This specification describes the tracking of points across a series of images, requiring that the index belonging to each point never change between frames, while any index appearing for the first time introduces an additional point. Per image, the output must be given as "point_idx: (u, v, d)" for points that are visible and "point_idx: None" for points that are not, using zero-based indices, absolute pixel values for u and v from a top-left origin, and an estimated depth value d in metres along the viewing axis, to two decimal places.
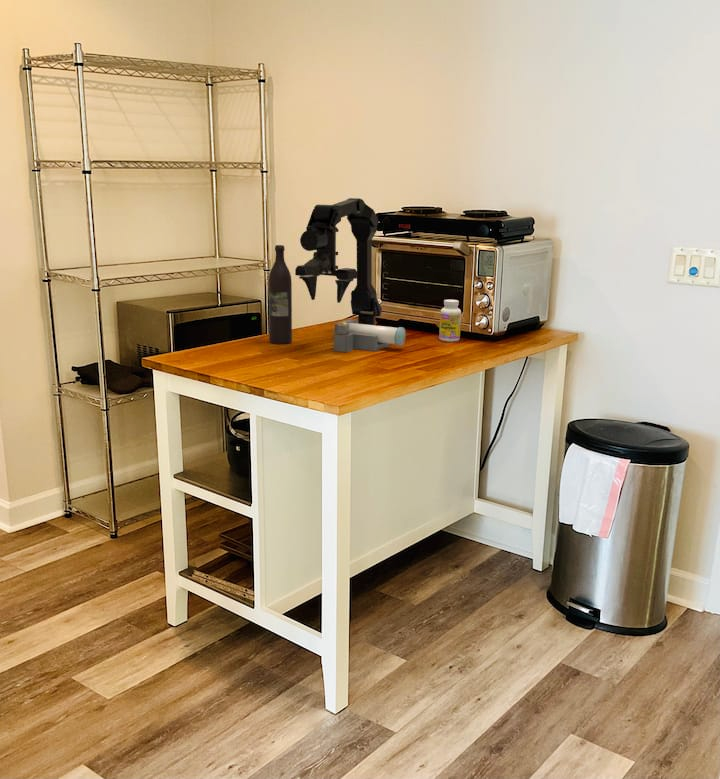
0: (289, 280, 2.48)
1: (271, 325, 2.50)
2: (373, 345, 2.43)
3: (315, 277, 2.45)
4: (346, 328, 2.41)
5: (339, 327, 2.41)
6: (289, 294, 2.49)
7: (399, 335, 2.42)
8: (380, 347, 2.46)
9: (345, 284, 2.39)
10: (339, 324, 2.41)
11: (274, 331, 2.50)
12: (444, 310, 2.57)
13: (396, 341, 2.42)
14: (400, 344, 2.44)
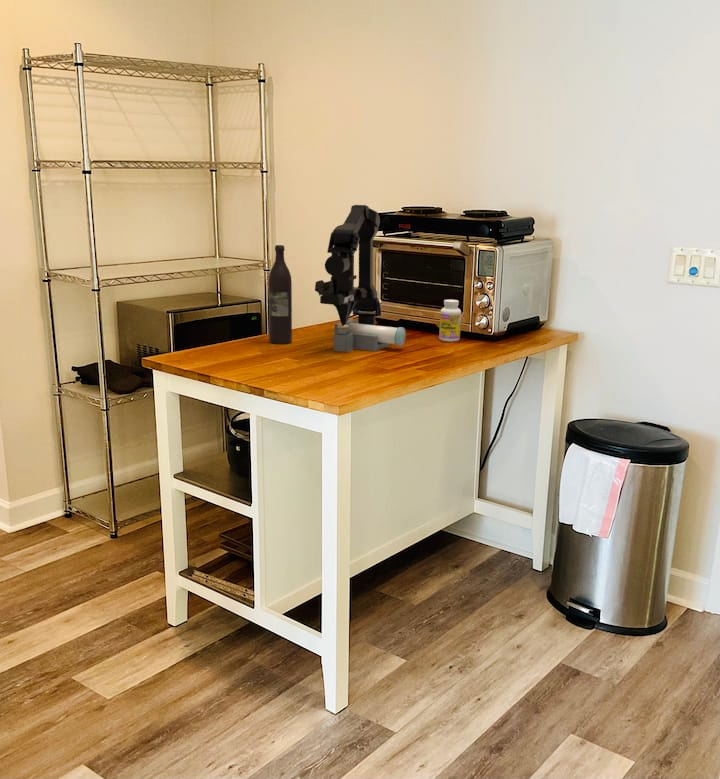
0: (289, 280, 2.48)
1: (271, 325, 2.50)
2: (373, 345, 2.43)
3: (350, 303, 2.40)
4: (346, 330, 2.42)
5: (339, 329, 2.42)
6: (289, 294, 2.49)
7: (399, 335, 2.42)
8: (380, 347, 2.46)
9: (344, 307, 2.39)
10: (339, 326, 2.41)
11: (274, 331, 2.50)
12: (444, 310, 2.57)
13: (396, 341, 2.42)
14: (400, 344, 2.44)
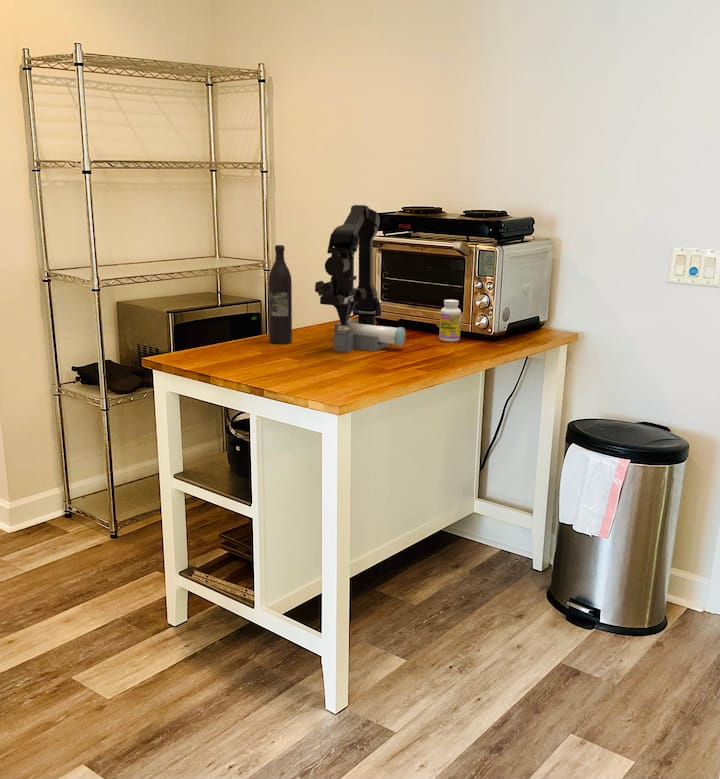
0: (289, 280, 2.48)
1: (271, 325, 2.50)
2: (373, 345, 2.43)
3: (350, 303, 2.40)
4: (346, 333, 2.42)
5: (339, 332, 2.42)
6: (289, 294, 2.49)
7: (399, 335, 2.42)
8: (380, 347, 2.46)
9: (344, 308, 2.39)
10: (339, 329, 2.41)
11: (274, 331, 2.50)
12: (444, 310, 2.57)
13: (396, 341, 2.42)
14: (400, 344, 2.44)
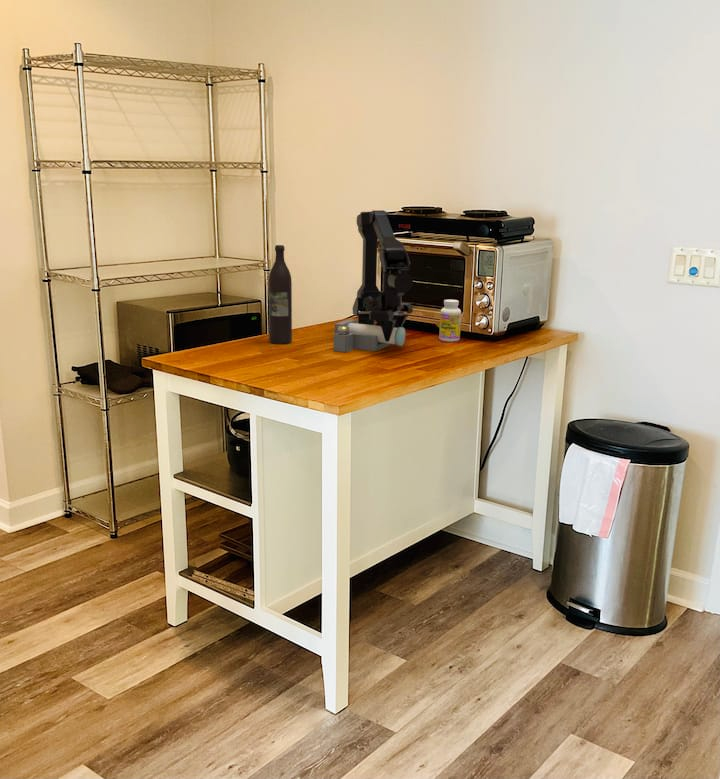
0: (289, 280, 2.48)
1: (271, 325, 2.50)
2: (373, 345, 2.43)
3: (401, 317, 2.46)
4: (346, 333, 2.42)
5: (339, 332, 2.42)
6: (289, 294, 2.49)
7: (399, 335, 2.42)
8: (380, 347, 2.46)
9: (389, 324, 2.40)
10: (339, 329, 2.41)
11: (274, 331, 2.50)
12: (444, 310, 2.57)
13: (396, 341, 2.42)
14: (400, 344, 2.44)
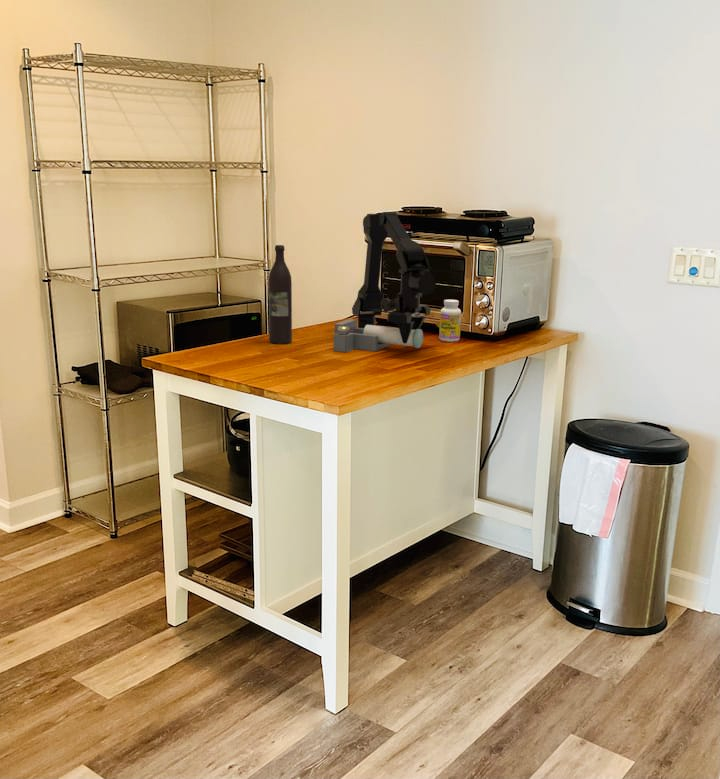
0: (289, 280, 2.48)
1: (271, 325, 2.50)
2: (373, 345, 2.43)
3: (419, 319, 2.43)
4: (346, 333, 2.42)
5: (339, 332, 2.42)
6: (289, 294, 2.49)
7: (417, 337, 2.39)
8: (380, 347, 2.46)
9: (406, 326, 2.37)
10: (339, 329, 2.41)
11: (274, 331, 2.50)
12: (444, 310, 2.57)
13: (414, 343, 2.39)
14: (418, 346, 2.41)
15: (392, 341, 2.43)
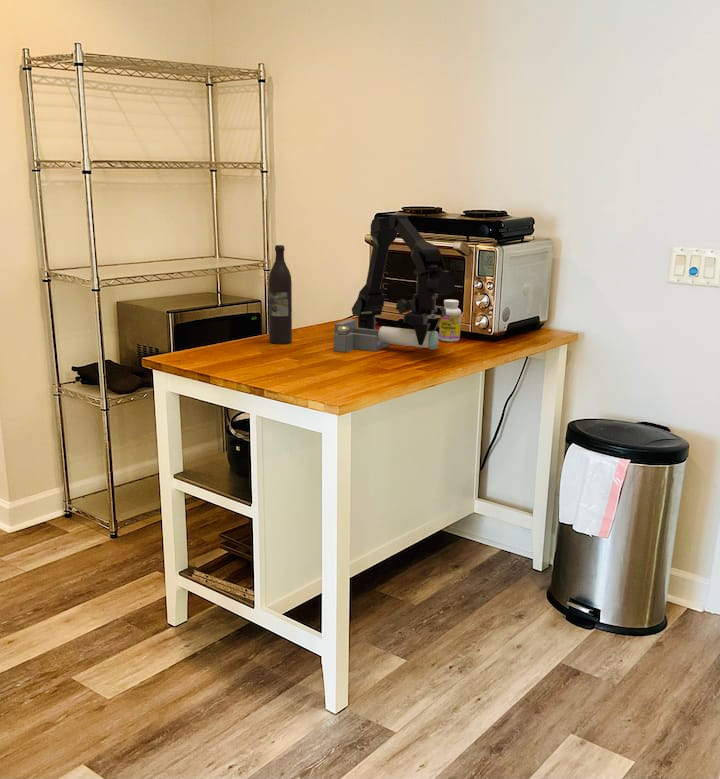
0: (289, 280, 2.48)
1: (271, 325, 2.50)
2: (373, 345, 2.43)
3: (435, 320, 2.41)
4: (346, 333, 2.42)
5: (339, 332, 2.42)
6: (289, 294, 2.49)
7: (433, 339, 2.37)
8: (380, 347, 2.46)
9: (423, 328, 2.35)
10: (339, 329, 2.41)
11: (274, 331, 2.50)
12: None
13: (430, 345, 2.37)
14: (434, 348, 2.39)
15: (408, 343, 2.41)
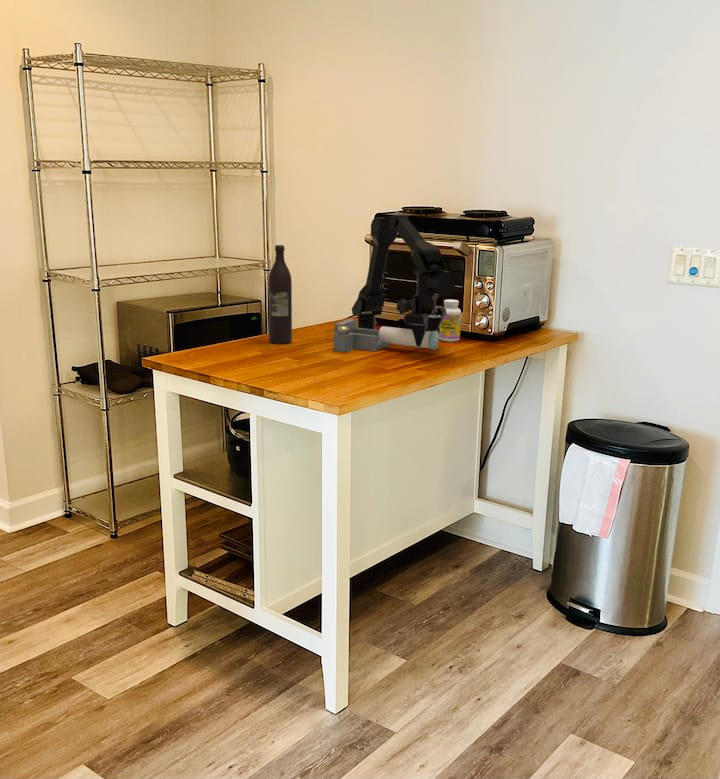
0: (289, 280, 2.48)
1: (271, 325, 2.50)
2: (373, 345, 2.43)
3: (437, 320, 2.42)
4: (346, 333, 2.42)
5: (339, 332, 2.42)
6: (289, 294, 2.49)
7: (433, 339, 2.37)
8: (380, 347, 2.46)
9: (420, 329, 2.33)
10: (339, 329, 2.41)
11: (274, 331, 2.50)
12: None
13: (430, 345, 2.37)
14: (434, 348, 2.39)
15: (408, 343, 2.41)
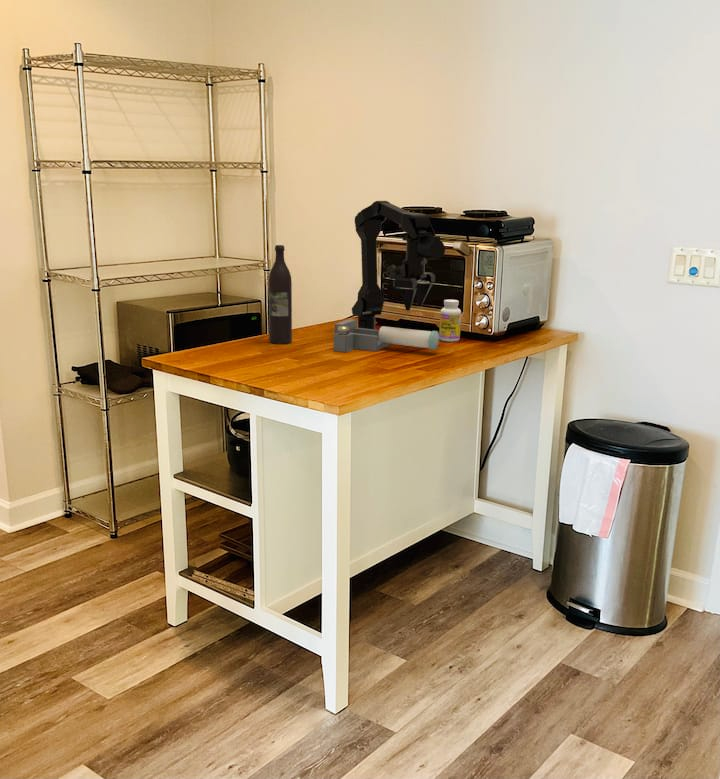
0: (289, 280, 2.48)
1: (271, 325, 2.50)
2: (373, 345, 2.43)
3: (426, 285, 2.49)
4: (346, 333, 2.42)
5: (339, 332, 2.42)
6: (289, 294, 2.49)
7: (433, 339, 2.37)
8: (380, 347, 2.46)
9: (409, 293, 2.40)
10: (339, 329, 2.41)
11: (274, 331, 2.50)
12: (444, 310, 2.57)
13: (430, 345, 2.37)
14: (434, 348, 2.39)
15: (408, 343, 2.41)
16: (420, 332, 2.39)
